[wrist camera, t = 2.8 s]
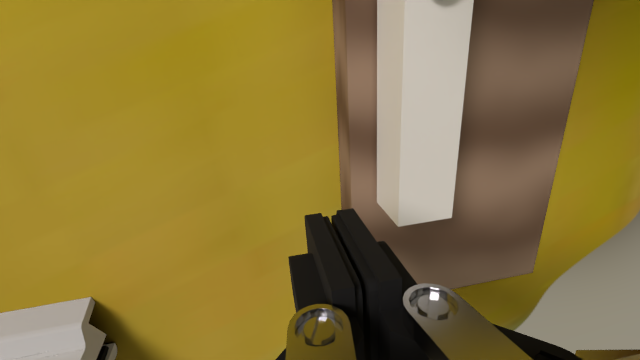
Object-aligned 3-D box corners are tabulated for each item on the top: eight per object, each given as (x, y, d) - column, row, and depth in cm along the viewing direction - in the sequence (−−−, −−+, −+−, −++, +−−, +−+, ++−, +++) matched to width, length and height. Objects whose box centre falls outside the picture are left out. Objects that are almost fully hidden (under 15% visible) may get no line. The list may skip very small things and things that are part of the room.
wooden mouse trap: (327, -119, 15) (364, -204, 10) (576, -115, 18) (707, -183, 12) (345, 284, 24) (369, 345, 19) (508, 253, 26) (568, 300, 21)
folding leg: (377, -49, 14) (412, -78, 11) (438, -50, 15) (488, -78, 12) (376, 202, 19) (401, 230, 16) (423, 195, 19) (456, 221, 16)
